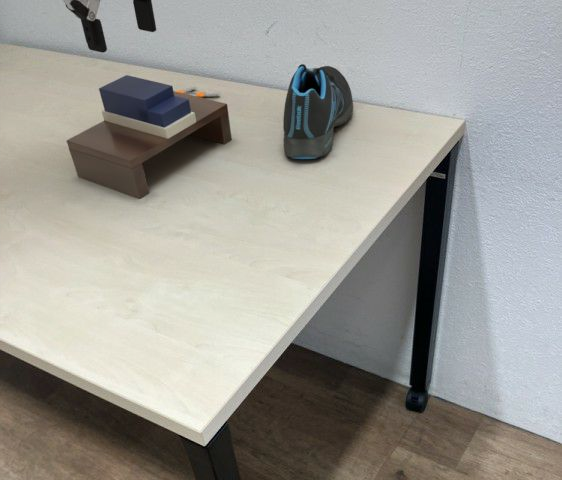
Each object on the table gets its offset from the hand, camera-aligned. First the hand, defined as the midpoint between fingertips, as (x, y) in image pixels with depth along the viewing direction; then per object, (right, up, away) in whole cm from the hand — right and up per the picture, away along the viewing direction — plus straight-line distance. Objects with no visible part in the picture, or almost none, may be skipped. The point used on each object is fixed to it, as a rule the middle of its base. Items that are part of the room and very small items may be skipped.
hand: (123, 40), depth 87 cm
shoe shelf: (+2, -12, +13) cm, 18 cm away
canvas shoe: (+2, -8, +9) cm, 12 cm away
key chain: (+4, +5, +29) cm, 30 cm away
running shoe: (+29, -6, +17) cm, 35 cm away
